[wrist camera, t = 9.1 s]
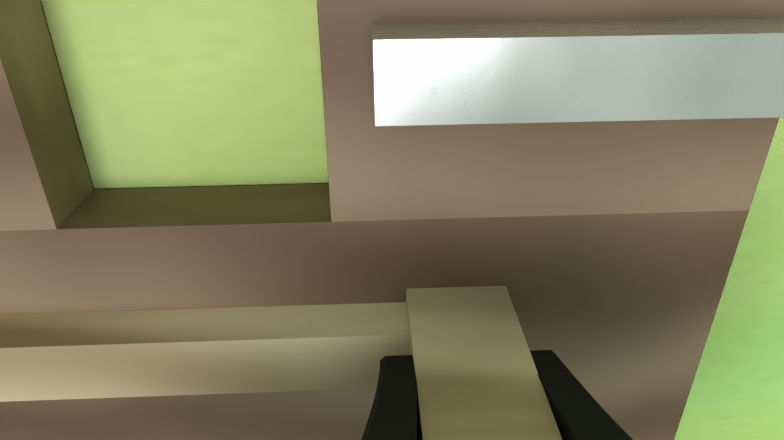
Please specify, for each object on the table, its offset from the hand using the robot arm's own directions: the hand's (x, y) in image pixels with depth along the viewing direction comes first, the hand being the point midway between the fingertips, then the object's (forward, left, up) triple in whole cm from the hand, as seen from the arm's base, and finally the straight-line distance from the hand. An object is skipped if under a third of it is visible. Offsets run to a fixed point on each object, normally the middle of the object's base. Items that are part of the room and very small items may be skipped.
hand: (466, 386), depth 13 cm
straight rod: (+7, -2, -2) cm, 7 cm away
